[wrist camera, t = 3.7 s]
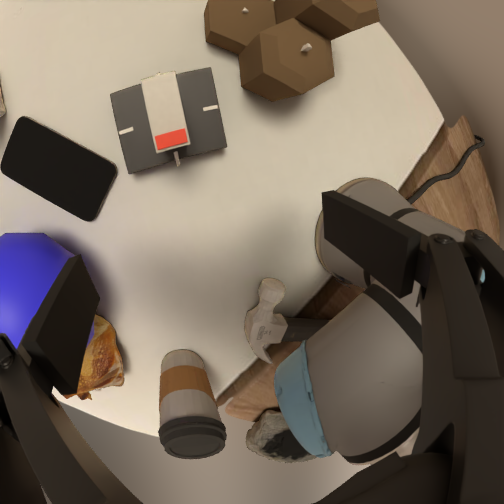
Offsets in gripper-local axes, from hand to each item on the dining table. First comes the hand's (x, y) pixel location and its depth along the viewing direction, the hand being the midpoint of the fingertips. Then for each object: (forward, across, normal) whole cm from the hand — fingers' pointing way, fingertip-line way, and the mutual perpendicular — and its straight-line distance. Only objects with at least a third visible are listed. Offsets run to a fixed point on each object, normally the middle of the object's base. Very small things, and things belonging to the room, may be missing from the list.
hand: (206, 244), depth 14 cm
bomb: (+13, -16, +1) cm, 20 cm away
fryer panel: (+18, -1, +7) cm, 19 cm away
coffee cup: (+18, -8, -25) cm, 32 cm away
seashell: (+18, -22, -18) cm, 34 cm away
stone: (+7, +11, -51) cm, 53 cm away
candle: (+18, +12, +16) cm, 27 cm away
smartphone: (+18, -14, +6) cm, 24 cm away
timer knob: (+15, -1, +7) cm, 16 cm away
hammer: (+16, +30, -33) cm, 47 cm away
